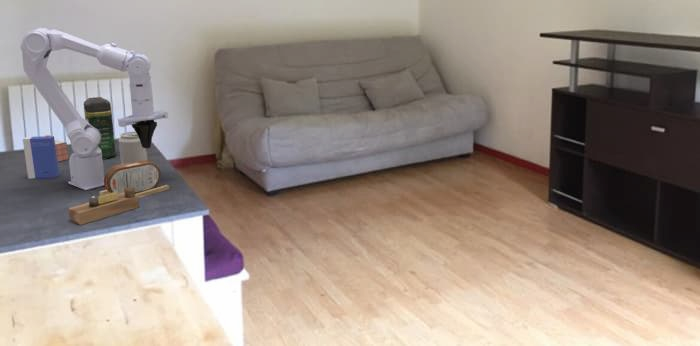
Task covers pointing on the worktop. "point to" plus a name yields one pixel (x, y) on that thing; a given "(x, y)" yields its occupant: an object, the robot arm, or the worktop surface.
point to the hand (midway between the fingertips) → (146, 147)
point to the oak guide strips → (143, 192)
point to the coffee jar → (101, 123)
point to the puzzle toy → (61, 150)
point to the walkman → (41, 157)
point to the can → (131, 148)
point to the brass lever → (102, 198)
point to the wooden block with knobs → (104, 208)
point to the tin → (132, 177)
